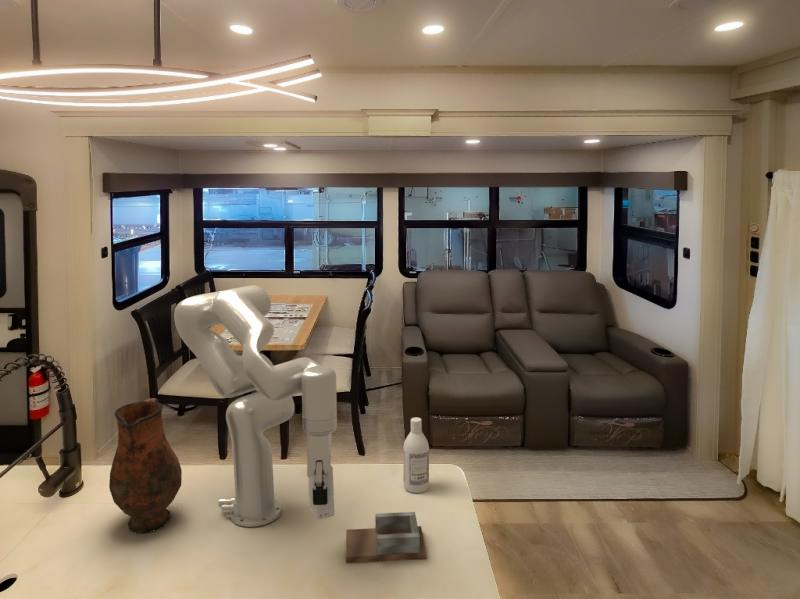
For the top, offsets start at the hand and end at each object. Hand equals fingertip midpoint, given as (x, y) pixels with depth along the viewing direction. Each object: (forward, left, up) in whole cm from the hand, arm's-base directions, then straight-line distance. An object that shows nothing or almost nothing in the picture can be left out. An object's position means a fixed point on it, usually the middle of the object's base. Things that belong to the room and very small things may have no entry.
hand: (321, 494), depth 145 cm
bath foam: (+24, +27, -14) cm, 39 cm away
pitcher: (-44, +18, -14) cm, 49 cm away
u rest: (+14, 0, -14) cm, 20 cm away
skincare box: (0, 0, -5) cm, 5 cm away
